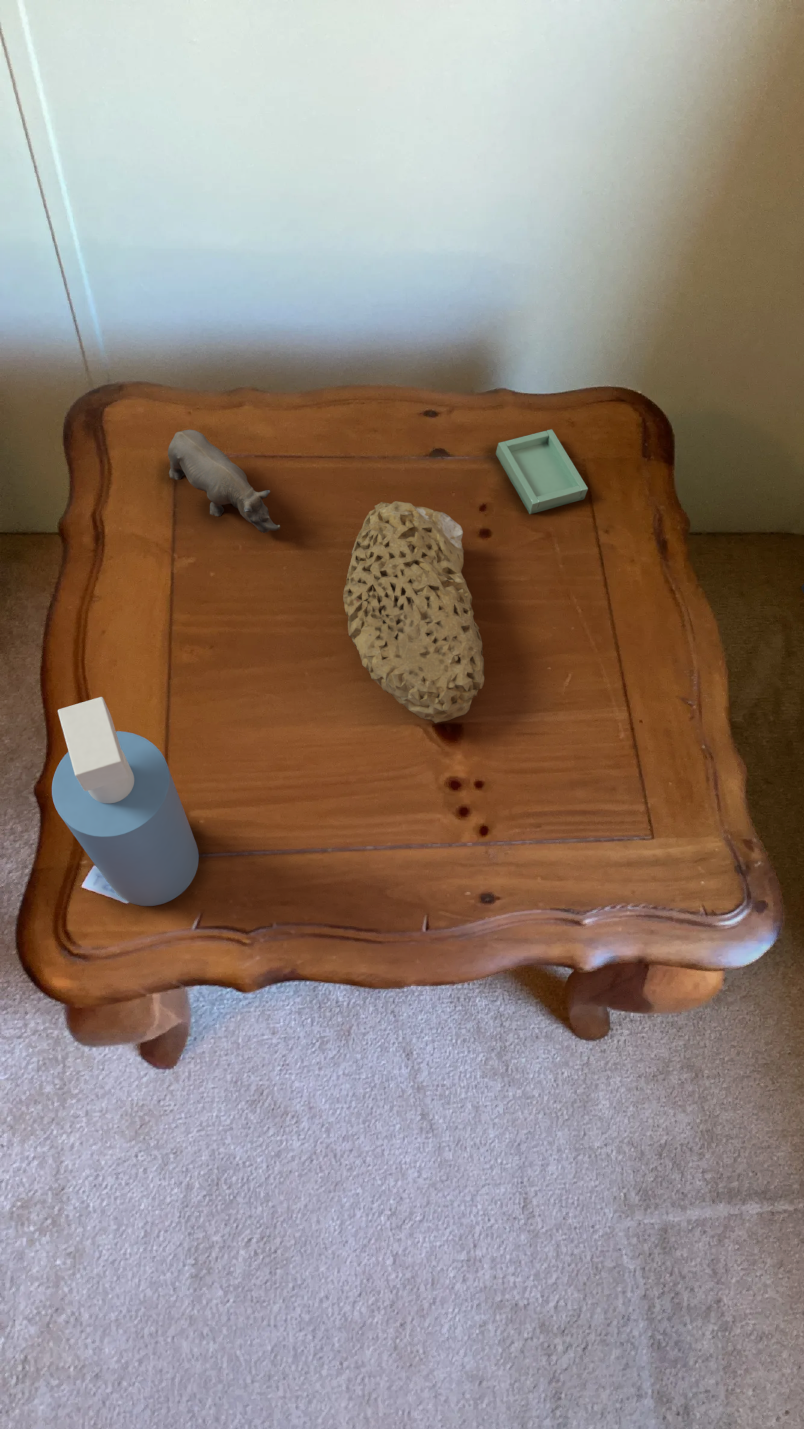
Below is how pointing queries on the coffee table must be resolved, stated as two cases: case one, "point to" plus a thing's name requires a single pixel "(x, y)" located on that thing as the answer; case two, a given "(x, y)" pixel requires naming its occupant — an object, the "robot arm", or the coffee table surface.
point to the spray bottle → (123, 807)
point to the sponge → (414, 610)
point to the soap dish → (541, 471)
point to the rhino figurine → (217, 478)
